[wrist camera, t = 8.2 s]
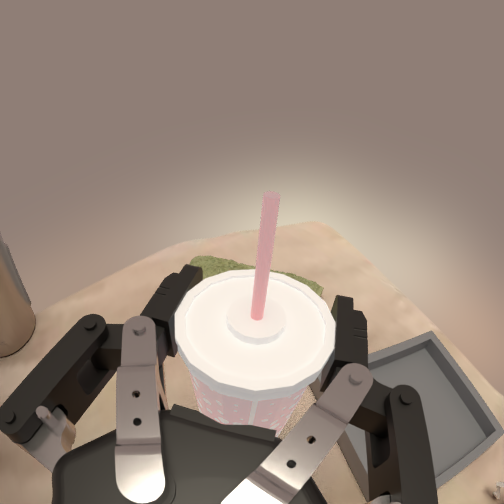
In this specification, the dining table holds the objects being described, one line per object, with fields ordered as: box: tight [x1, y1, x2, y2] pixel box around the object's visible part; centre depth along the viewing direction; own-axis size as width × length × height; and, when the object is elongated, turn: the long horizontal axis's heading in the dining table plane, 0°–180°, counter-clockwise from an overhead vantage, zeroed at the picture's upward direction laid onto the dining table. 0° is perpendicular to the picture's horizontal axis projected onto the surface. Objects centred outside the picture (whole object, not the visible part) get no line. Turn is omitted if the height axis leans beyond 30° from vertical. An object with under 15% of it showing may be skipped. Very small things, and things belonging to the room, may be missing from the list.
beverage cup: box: [175, 191, 336, 437], centre depth 13 cm, size 6×6×14 cm
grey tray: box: [309, 331, 504, 502], centre depth 25 cm, size 16×16×2 cm
